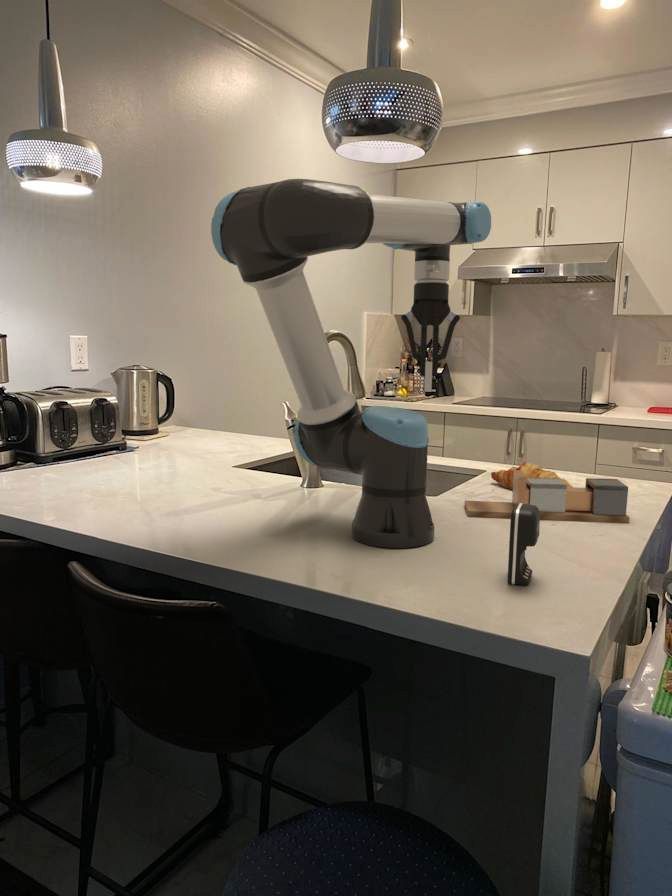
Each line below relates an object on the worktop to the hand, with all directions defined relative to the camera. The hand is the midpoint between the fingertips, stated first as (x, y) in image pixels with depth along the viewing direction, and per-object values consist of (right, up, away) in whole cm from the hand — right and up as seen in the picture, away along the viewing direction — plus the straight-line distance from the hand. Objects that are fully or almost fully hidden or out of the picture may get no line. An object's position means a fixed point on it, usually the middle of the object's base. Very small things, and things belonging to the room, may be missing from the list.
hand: (427, 391), depth 150 cm
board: (+23, -26, -9) cm, 36 cm away
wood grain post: (+27, -25, -10) cm, 38 cm away
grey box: (+35, -26, -11) cm, 45 cm away
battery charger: (+8, -33, -47) cm, 58 cm away
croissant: (+27, -23, +13) cm, 38 cm away
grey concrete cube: (+23, -25, -9) cm, 35 cm away
